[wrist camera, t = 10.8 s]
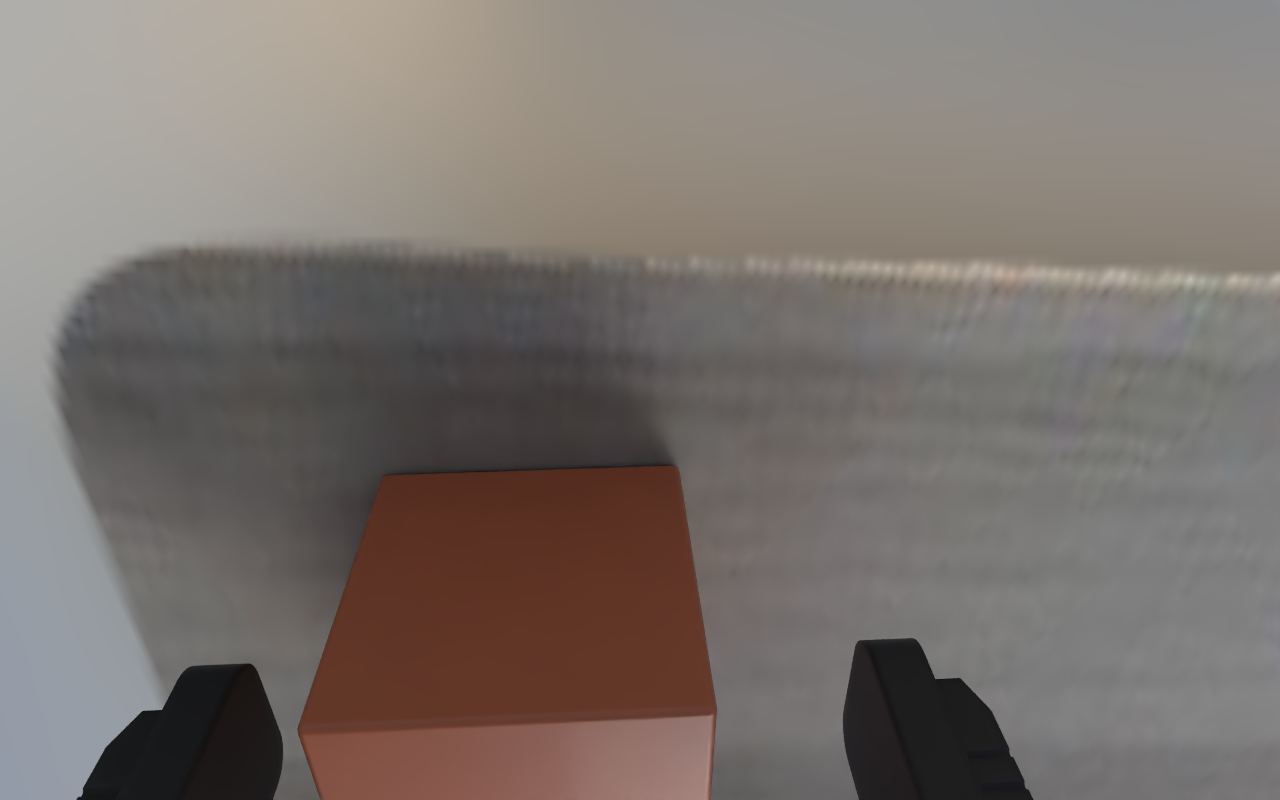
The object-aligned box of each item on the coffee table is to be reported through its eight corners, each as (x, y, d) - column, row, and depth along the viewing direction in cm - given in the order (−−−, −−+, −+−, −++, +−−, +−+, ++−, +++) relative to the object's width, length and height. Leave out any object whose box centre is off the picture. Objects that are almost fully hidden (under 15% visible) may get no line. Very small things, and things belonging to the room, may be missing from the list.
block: (422, 674, 15) (367, 945, 11) (380, 472, 12) (292, 731, 9) (672, 662, 15) (702, 926, 11) (678, 462, 13) (717, 710, 9)
